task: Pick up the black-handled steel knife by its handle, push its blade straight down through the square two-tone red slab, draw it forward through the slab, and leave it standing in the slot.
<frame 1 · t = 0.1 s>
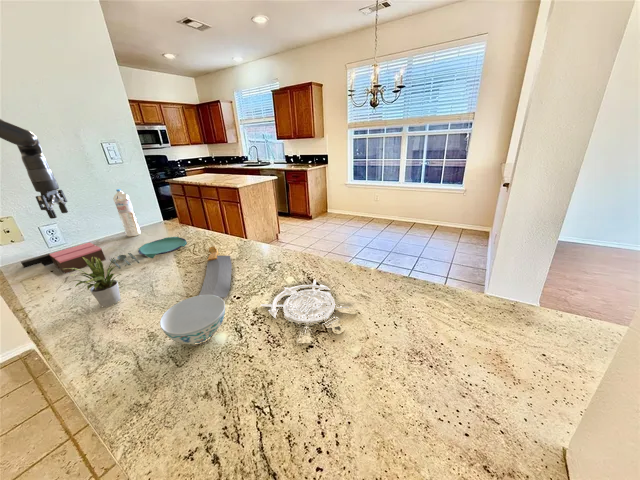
hand: (59, 215, 119), 18 cm above the worktop, tool pointing down, fingers open, 8 cm apart
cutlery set: (152, 253, 120), on the worktop
chinaware: (200, 336, 69), on the worktop
water bottle: (134, 235, 144), on the worktop
cleaver: (218, 272, 100), on the worktop
house plant: (107, 302, 85), on the worktop
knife: (54, 262, 116), on the worktop
pendant: (309, 308, 78), on the worktop
two-tone red slab: (80, 262, 114), on the worktop
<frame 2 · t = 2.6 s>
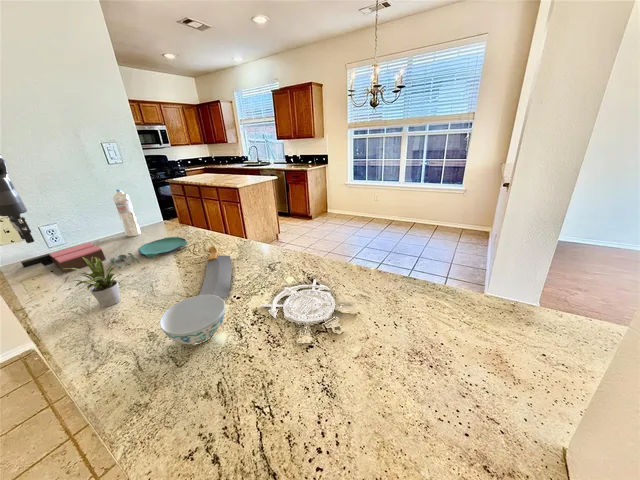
hand: (28, 240, 108), 12 cm above the worktop, tool pointing down, fingers open, 8 cm apart
nothing on the worktop moved.
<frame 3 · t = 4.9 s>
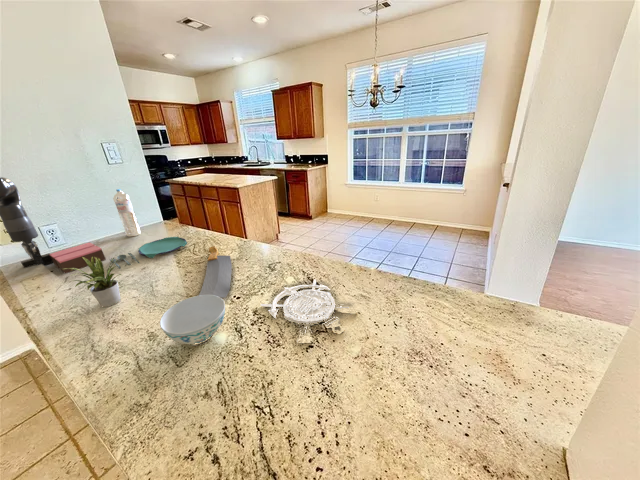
hand: (40, 265, 113), 0 cm above the worktop, tool pointing down, fingers closed on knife, 2 cm apart
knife: (54, 262, 116), on the worktop, touching gripper
everything else where it was.
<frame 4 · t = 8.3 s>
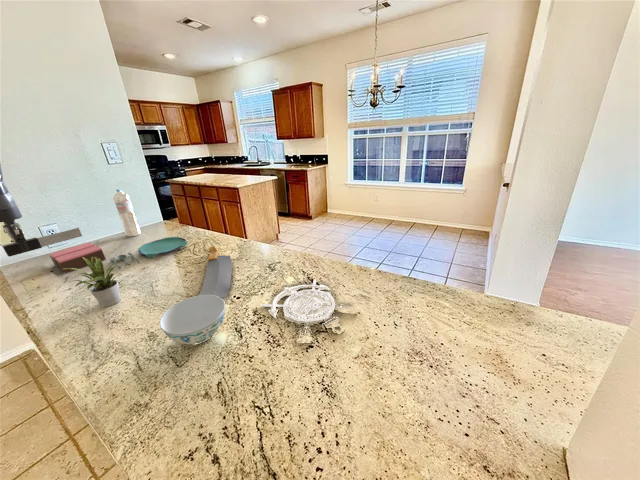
hand: (24, 250, 100), 11 cm above the worktop, tool pointing down, fingers closed on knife, 2 cm apart
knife: (41, 247, 103), point 11 cm above the worktop, touching gripper
everything else where it was.
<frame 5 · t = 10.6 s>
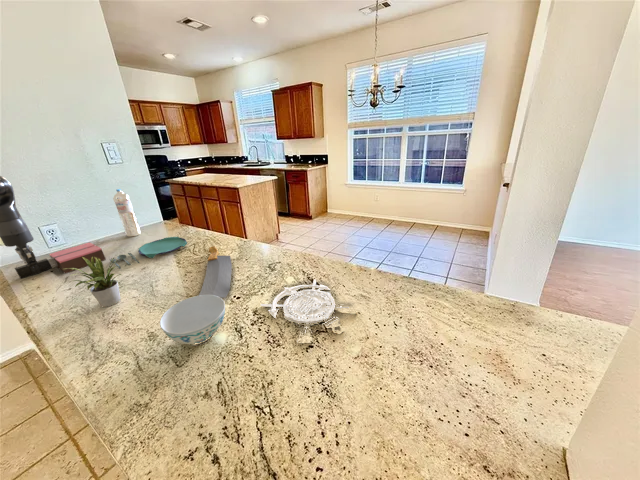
hand: (36, 272, 103), 2 cm above the worktop, tool pointing down, fingers closed on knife, 2 cm apart
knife: (51, 267, 107), point 2 cm above the worktop, touching gripper
everything else where it was.
when the fingers open (0 cm above the worktop, at t = 11.8 s): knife stays where it is, resting in two-tone red slab.
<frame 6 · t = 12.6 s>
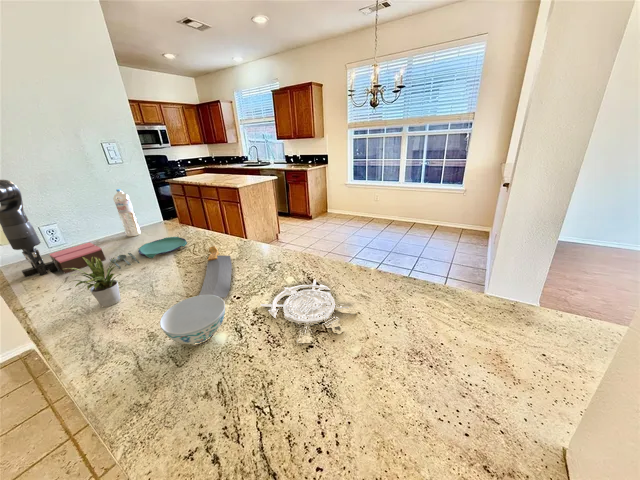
hand: (41, 272, 105), 1 cm above the worktop, tool pointing down, fingers open, 8 cm apart
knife: (57, 270, 108), resting in two-tone red slab
everything else where it was.
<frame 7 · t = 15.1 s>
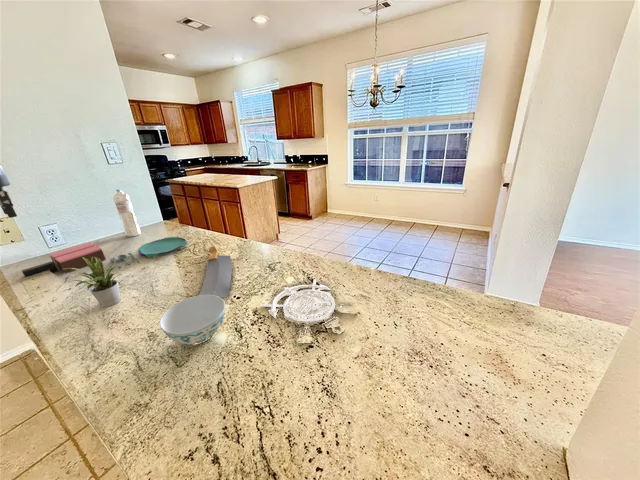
hand: (11, 215, 105), 23 cm above the worktop, tool pointing down, fingers open, 8 cm apart
nothing on the worktop moved.
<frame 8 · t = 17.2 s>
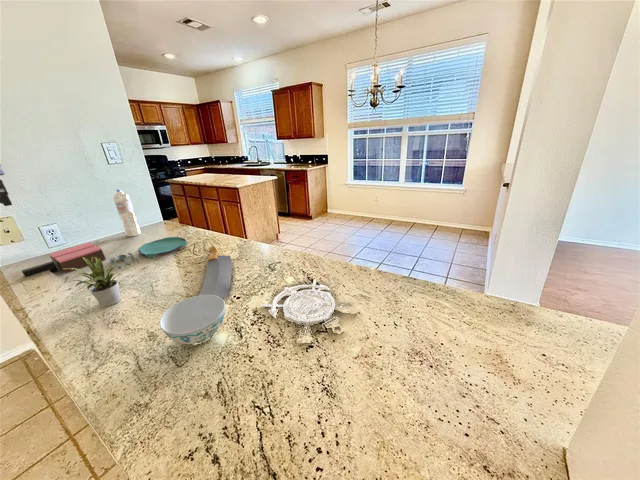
hand: (6, 204, 108), 26 cm above the worktop, tool pointing down, fingers open, 8 cm apart
nothing on the worktop moved.
at the end: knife 0.2 cm from the target spot on the two-tone red slab, point 0.0 cm above the two-tone red slab's base; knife tilted 0°; the gripper is holding nothing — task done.
